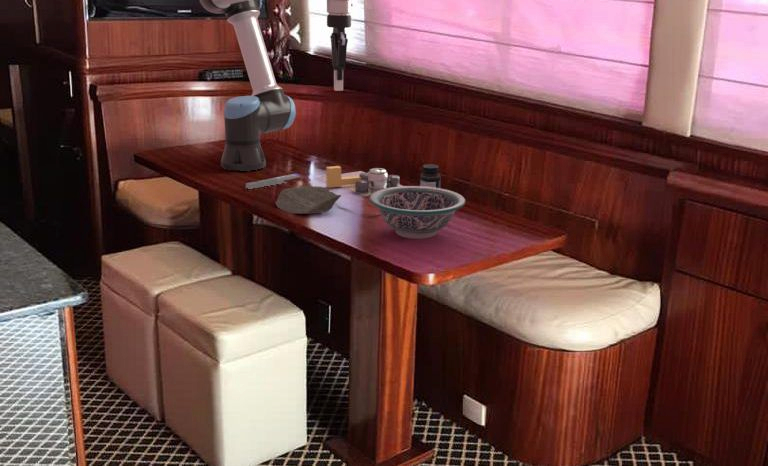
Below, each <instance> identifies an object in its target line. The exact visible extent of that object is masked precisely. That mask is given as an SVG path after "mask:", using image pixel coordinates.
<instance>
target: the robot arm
mask: <svg viewBox="0 0 768 466" xmlns="http://www.w3.org/2000/svg"><path fill="white" fill-rule="evenodd" d="M199 3H200V5H201V6H202V7H203V8H204V9H205V10H206V11H207V12H208V13H209V12H210V13H213V14H217V15H219V14H222V15H223V14H224V15H225V17H226V20H227V23H229V24H231V25H232V26H233V29H234V32H235V35H236V39H237V42H238V45H239V49H240V52H241V55H242V58H243V63H244V65H245V69H246V71H247V76H248V79H249V82H250V85H251V89H252V93H251V95H244V96H241V95H240V96H239V95H238V96H235V97H231V98H230V99H228V100H226V101H225V104H224V105H223V106H224V110H223V111H224V112H223V118H224V136H225V137H224V139H225V142H224V143H225V146H224V149H223V152H222V156H221V158H220V167H221V166H222V167H223V168H226V169H230V170H240V171H247V172H252V171H251V170H256V171H258V170H257V169H261V168H263V169H265V168H266V167H267V162H266V157H265V154H264V151H263V149H262V146H261V134H266V133H271V132H279V131H282V130H286V129H289V128H290V127H291V126H292V125H293V123H294V120H295V118H296V115H297V114H296V111H297V110H296V104H295V102H294V99H292V98H291V97H290V96H288V95H286V94H285V93H284V88H282V87H281V86H279V85H278V84H277V81H276V78H275V75H274V71H273V67H272V63H271V61H270V58H269V53H268V51H267V47H266V44H265V41H264V40H265V39H264V37H263V33H262V29H261V27H260V23H259V20H258V18H259V16H260V14H261V11H260V9H262V5H263V0H199ZM353 5H354V3H352V0H326V12H327V15H326V26H327V27H328V28H333V29H332V32H331V35H330V36H329V38H330V43H331V44H330V45H331V46H330V47H331V66H332V69H333V90H334V91H335V92H336V91H337V92H338V91H339V92H341V91H342V92H343V91H344V70H345V69H346V64H347V63H346V62H347V49H348V48H347V47H348V43H349V42H348V41H349V39H348V38H347V33H346V28H351V26H352V16H351V13H352V7H353ZM265 166H266V167H265ZM264 167H265V168H264ZM261 170H262V169H261Z"/></svg>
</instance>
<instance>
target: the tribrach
mask: <svg viewBox="0 0 768 466" xmlns="http://www.w3.org/2000/svg"><path fill="white" fill-rule="evenodd" d="M361 173H366V172H364V171H362V170H359V171H352V172H346V173H341V178H346V177H358V176H359V174H361ZM367 173H368V181H367V180H356V181H355V184H353V185H342V186H341V187H340V188H343V189H346V190H349V191H350V192H354V193H355V194H358V195H361V196H363V197H367V196H370V195H371V194H372V193H374V192H376V191H378V190H381V189H385V188H391V187H399V186H403V185H402V184H400V179H401V178H400V175H398V174H397V175H396V174H388V171H387V169H385V168H382V167H381V168H380V167H374V168H370V169H369V171H367ZM317 178H318V179H320V180H322V181H325V182H326V175H325V176H320V177H317Z"/></svg>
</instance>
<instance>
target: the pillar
mask: <svg viewBox="0 0 768 466" xmlns="http://www.w3.org/2000/svg"><path fill="white" fill-rule="evenodd" d="M300 176H301V175H300V174H298V173H292V174H286V175H281V176H277V177H272V178H267V179H266V178H265V179H262V180H256V181H252V182H251V181H250V182H247V183H245V189H246V188H248V189H253V188H259V187H264V186H269V187H271V186H270V185H274V186H277V185H276V184H279V185H283V184H282V183H284V184H287V183H288V182H287V181H288V180H294V179H298V178H299V179H300V178H301V177H300Z"/></svg>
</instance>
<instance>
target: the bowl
mask: <svg viewBox="0 0 768 466" xmlns="http://www.w3.org/2000/svg"><path fill="white" fill-rule="evenodd" d="M369 202H370V203H371V204H372V205H373V206H375V207H377V208H378V211H379V213H380V215H381V216H382V218H383V220H384V223H386V224H387V225H388V226H389V227H390V228H391V229H393V230H395V233H396V234H397V235H398V236H399V237H403V238H406V239H414V240H424V239H429V238H433V237H434V236H436V235H437V232H438V231H440V230H442V229H444V228H445V227H446V226H447V225H448V224H449V222H450V221H451V220H452V218H453V216H454V214H455V212H456V211H457V210H459V209H461V208H462V207H463V206H465V204H466V198H465V197H464V196H463V195H461V194H460V193H458V192H455V191H452V190H449V189H446V188H441V187H440V188H434V187H425V186H420V185H402V186H399V187H391V188H385V189H381V190H378V191H376V192H374V193H372V194H371V195H369Z"/></svg>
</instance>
